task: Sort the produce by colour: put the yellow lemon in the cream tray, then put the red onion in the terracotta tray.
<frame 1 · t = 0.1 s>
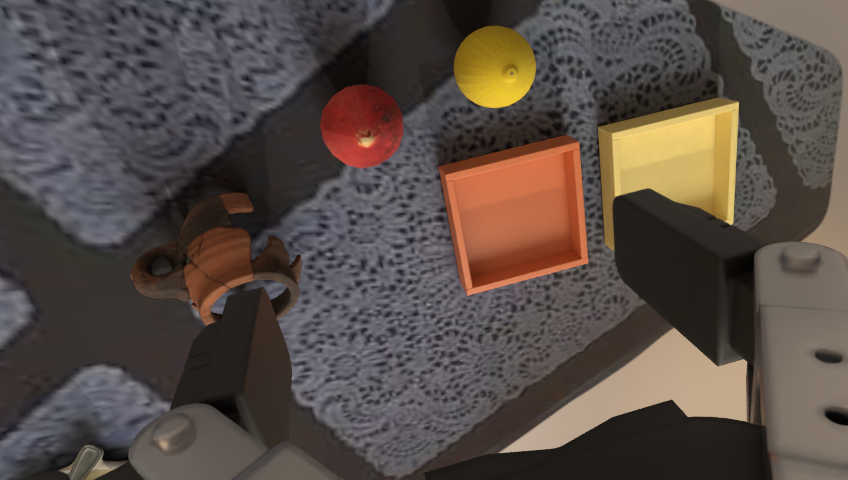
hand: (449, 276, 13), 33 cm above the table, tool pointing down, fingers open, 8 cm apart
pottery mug: (226, 248, 45), on the table
lemon: (477, 61, 43), on the table
terracotta tray: (511, 211, 49), on the table
cream tray: (659, 173, 50), on the table
onion: (358, 116, 43), on the table
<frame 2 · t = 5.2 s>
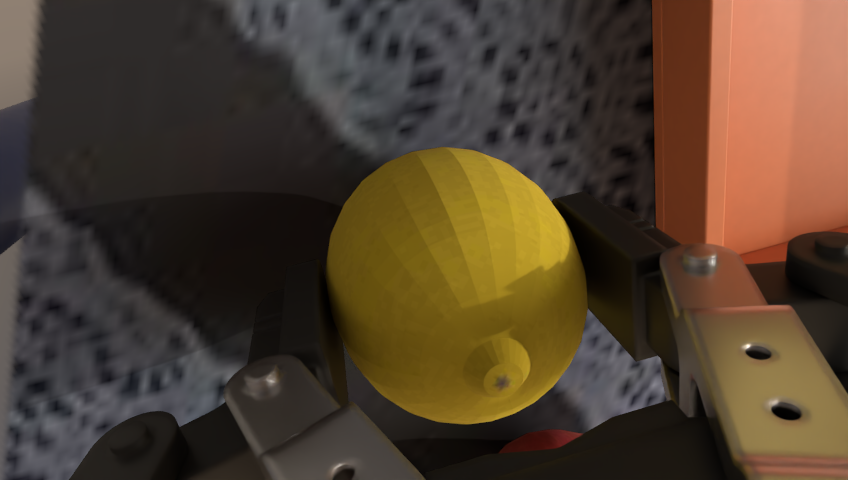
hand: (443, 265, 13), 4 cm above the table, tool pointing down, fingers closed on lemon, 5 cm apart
lemon: (417, 211, 16), on the table, touching gripper
terracotta tray: (823, 79, 17), on the table
onion: (521, 441, 21), on the table
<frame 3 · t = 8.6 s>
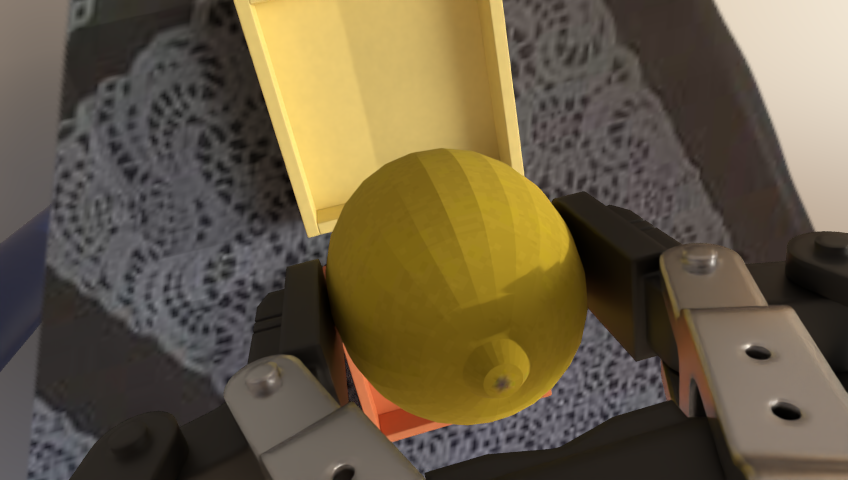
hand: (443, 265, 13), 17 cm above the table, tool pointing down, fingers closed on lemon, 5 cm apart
lemon: (417, 212, 16), point 13 cm above the table, touching gripper
terracotta tray: (438, 322, 33), on the table
cream tray: (387, 90, 28), on the table
when the fingers open (4 cm above the table, at t = 12.0 s): lemon stays where it is, resting on cream tray.
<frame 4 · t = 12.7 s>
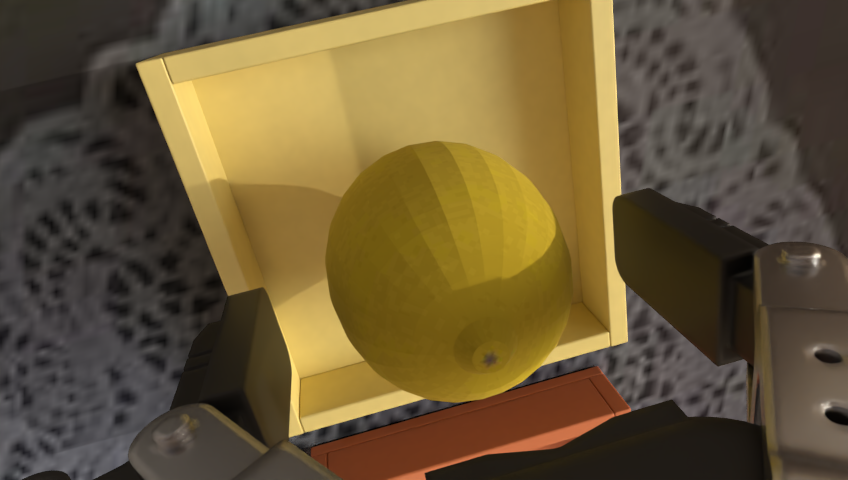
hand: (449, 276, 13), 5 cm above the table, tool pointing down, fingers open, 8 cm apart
lemon: (414, 203, 17), resting on cream tray
cream tray: (412, 199, 17), on the table
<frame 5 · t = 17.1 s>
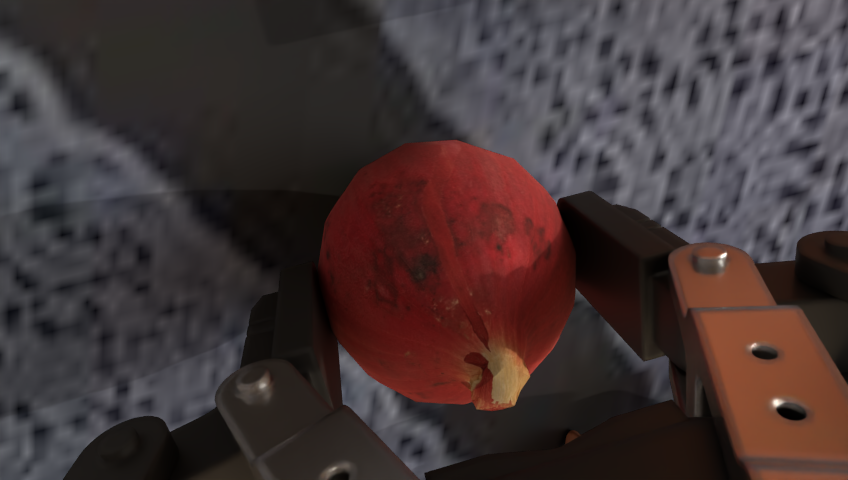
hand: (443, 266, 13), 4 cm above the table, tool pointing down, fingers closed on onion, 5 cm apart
onion: (416, 211, 16), on the table, touching gripper
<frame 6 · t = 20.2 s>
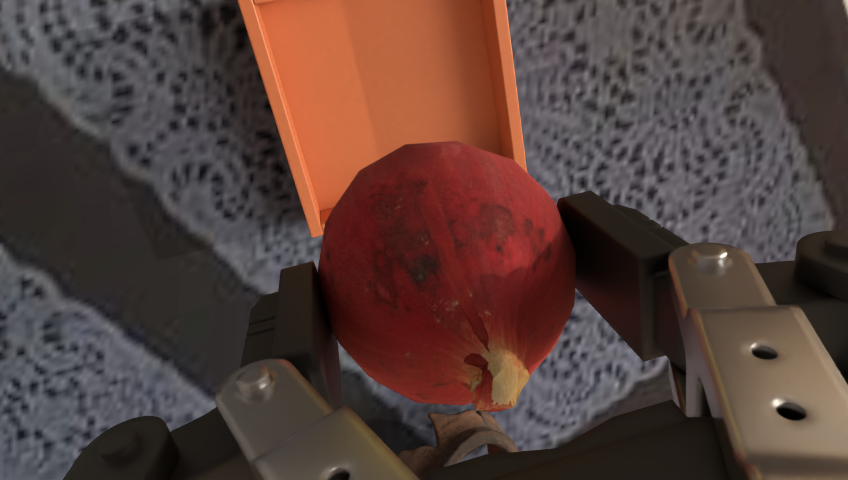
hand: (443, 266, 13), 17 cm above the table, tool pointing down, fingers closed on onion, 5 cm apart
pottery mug: (424, 455, 38), on the table
terracotta tray: (390, 90, 28), on the table
onion: (416, 212, 16), point 13 cm above the table, touching gripper
when the fingers open (4 cm above the table, at t = 23.6 s): onion stays where it is, resting on terracotta tray.
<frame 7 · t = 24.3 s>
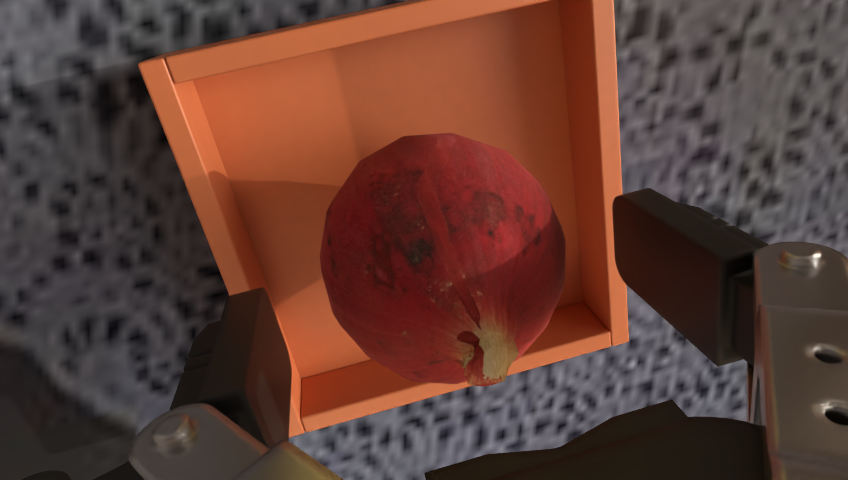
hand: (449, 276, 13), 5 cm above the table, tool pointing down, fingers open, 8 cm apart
terracotta tray: (413, 199, 17), on the table
onion: (414, 202, 17), resting on terracotta tray
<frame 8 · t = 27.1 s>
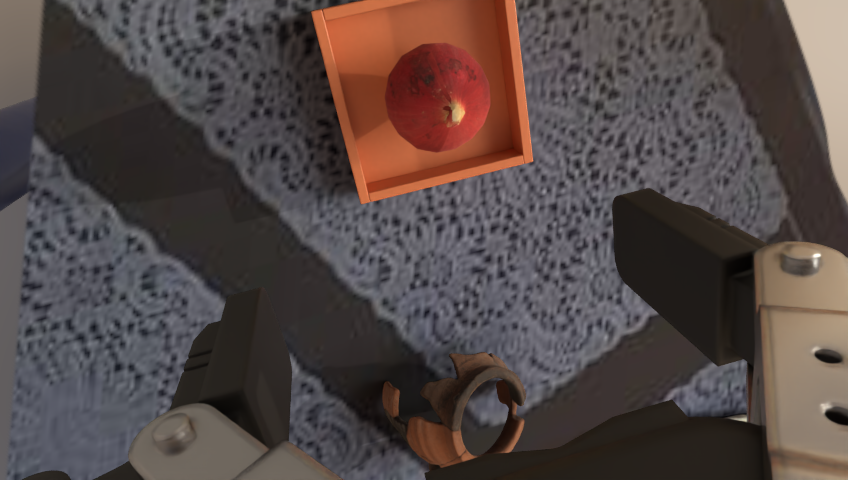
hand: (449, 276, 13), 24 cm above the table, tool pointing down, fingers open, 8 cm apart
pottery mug: (443, 395, 45), on the table
terracotta tray: (424, 87, 35), on the table
onion: (424, 88, 34), resting on terracotta tray
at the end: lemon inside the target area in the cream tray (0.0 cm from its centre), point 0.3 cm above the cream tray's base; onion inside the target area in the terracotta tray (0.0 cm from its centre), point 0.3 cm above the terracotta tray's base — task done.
